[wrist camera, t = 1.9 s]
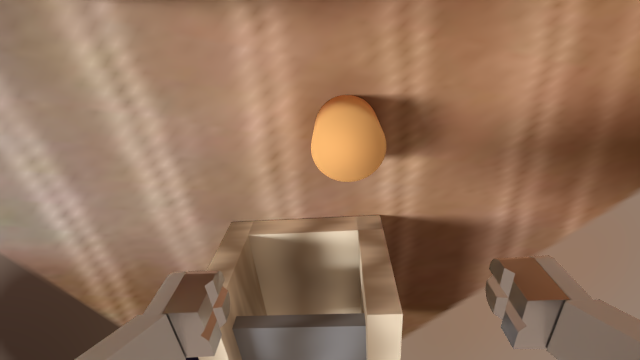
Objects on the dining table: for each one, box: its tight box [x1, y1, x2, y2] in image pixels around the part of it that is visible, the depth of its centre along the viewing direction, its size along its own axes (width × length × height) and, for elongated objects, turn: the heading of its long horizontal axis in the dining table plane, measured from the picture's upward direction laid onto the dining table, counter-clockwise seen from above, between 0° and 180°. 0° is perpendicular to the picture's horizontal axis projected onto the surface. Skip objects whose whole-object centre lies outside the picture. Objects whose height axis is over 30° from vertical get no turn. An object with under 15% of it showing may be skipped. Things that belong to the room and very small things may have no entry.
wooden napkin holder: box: [198, 215, 403, 360], centre depth 25 cm, size 13×11×10 cm
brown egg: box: [311, 95, 386, 182], centre depth 21 cm, size 5×5×4 cm
